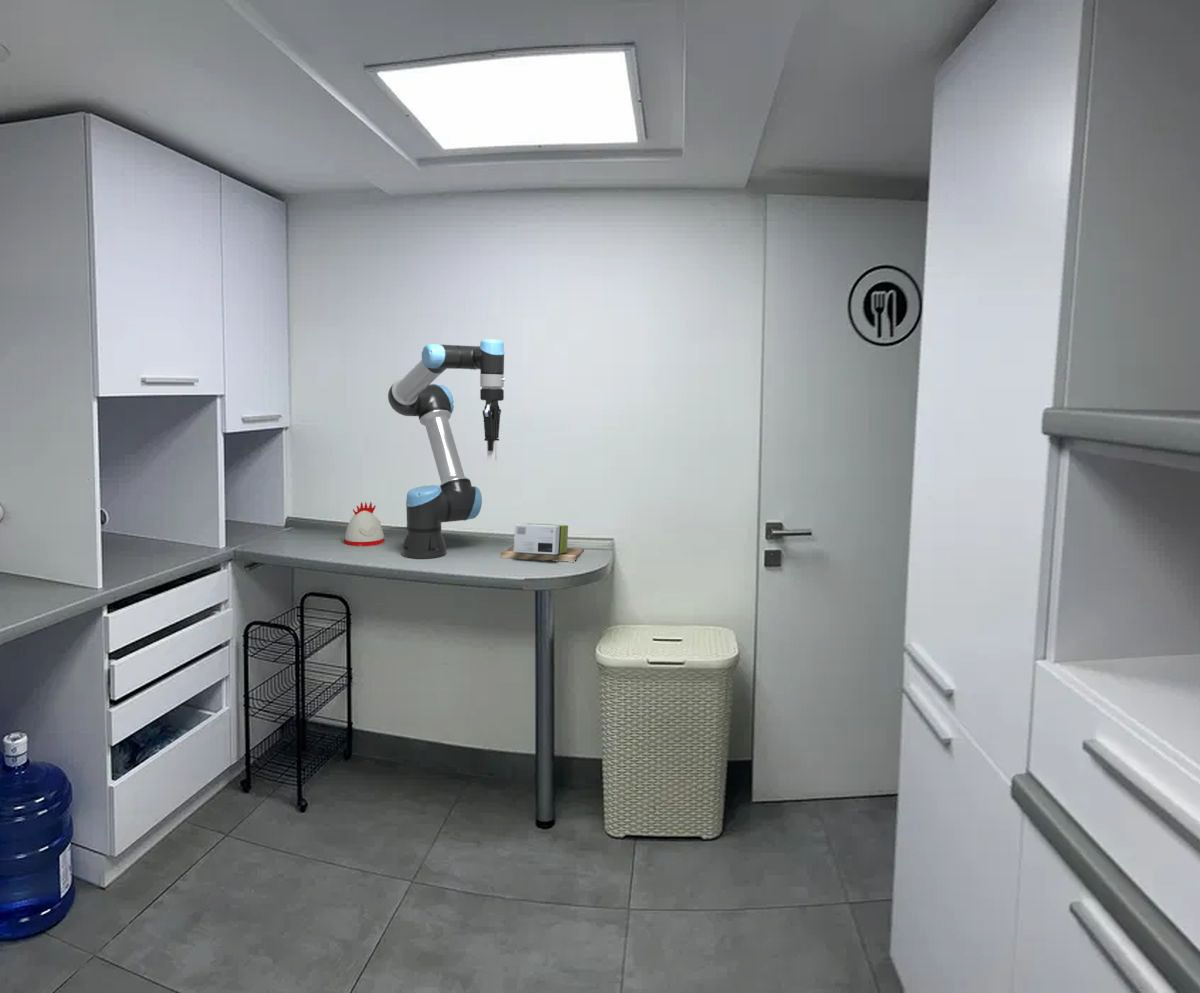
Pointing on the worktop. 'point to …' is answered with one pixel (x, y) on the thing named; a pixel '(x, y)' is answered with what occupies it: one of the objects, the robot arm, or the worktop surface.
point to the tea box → (540, 538)
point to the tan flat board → (544, 555)
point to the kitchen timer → (364, 528)
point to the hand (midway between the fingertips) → (491, 460)
